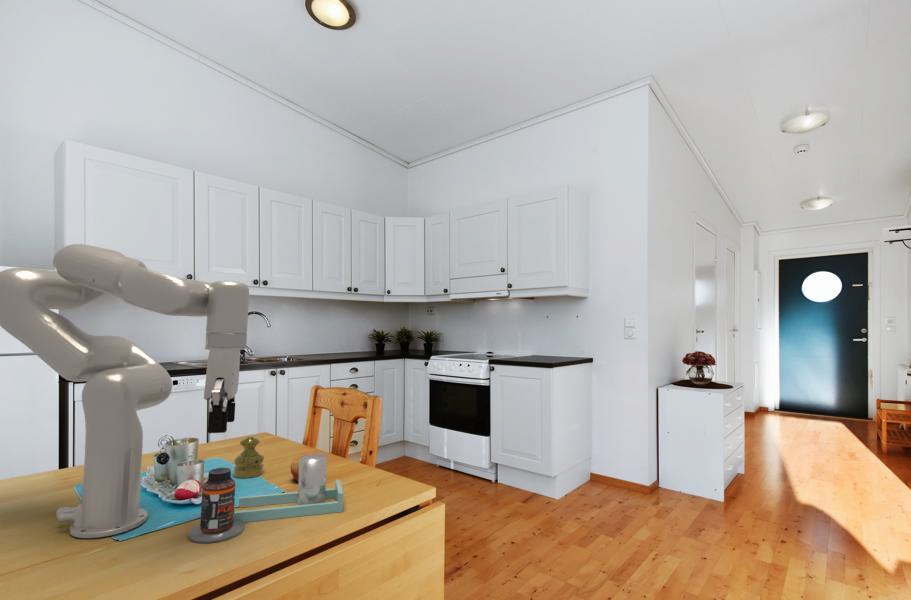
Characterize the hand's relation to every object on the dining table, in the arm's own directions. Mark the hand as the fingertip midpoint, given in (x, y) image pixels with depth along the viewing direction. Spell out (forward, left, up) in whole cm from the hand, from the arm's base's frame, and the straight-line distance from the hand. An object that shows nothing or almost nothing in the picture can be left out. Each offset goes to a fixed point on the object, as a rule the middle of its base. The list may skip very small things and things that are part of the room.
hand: (221, 427), depth 93 cm
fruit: (+17, +26, -21) cm, 38 cm away
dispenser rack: (+13, +7, -20) cm, 25 cm away
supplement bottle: (0, 0, -20) cm, 20 cm away
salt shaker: (+2, +35, -21) cm, 41 cm away
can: (+18, +7, -20) cm, 28 cm away
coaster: (0, -1, -20) cm, 20 cm away
